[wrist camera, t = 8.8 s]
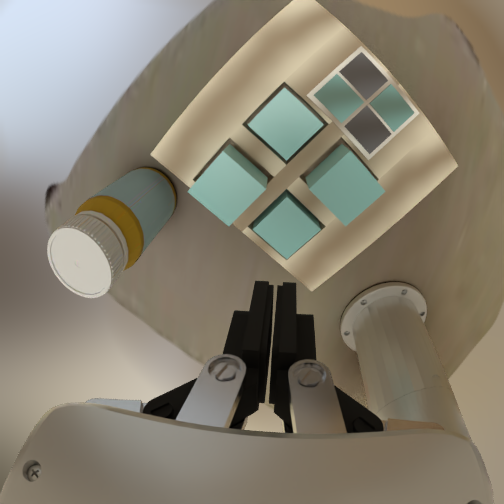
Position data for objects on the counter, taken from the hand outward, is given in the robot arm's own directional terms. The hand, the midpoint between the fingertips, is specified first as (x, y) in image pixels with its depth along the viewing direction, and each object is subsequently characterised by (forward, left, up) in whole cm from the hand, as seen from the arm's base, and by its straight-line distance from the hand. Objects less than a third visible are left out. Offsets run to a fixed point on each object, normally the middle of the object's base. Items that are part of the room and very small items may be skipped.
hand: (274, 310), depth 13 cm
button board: (0, -5, -21) cm, 21 cm away
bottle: (+9, +11, -21) cm, 26 cm away
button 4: (+4, +2, -17) cm, 18 cm away
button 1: (-3, -5, -17) cm, 18 cm away
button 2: (-3, +2, -20) cm, 21 cm away
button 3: (+4, -5, -20) cm, 21 cm away
